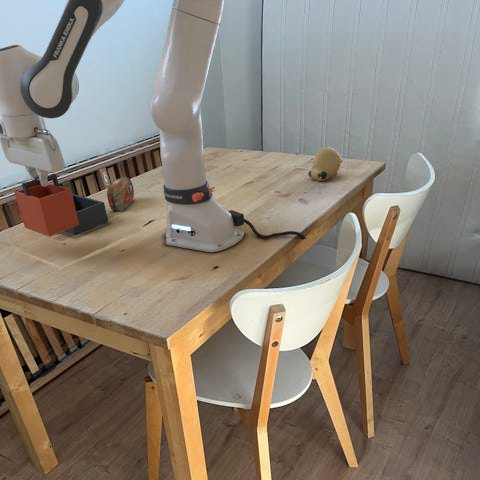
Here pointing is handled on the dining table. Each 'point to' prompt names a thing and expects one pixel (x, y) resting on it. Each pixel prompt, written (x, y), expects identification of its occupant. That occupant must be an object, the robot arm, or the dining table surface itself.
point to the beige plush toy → (325, 164)
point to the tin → (120, 193)
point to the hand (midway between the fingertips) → (41, 184)
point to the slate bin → (88, 214)
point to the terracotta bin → (46, 207)
